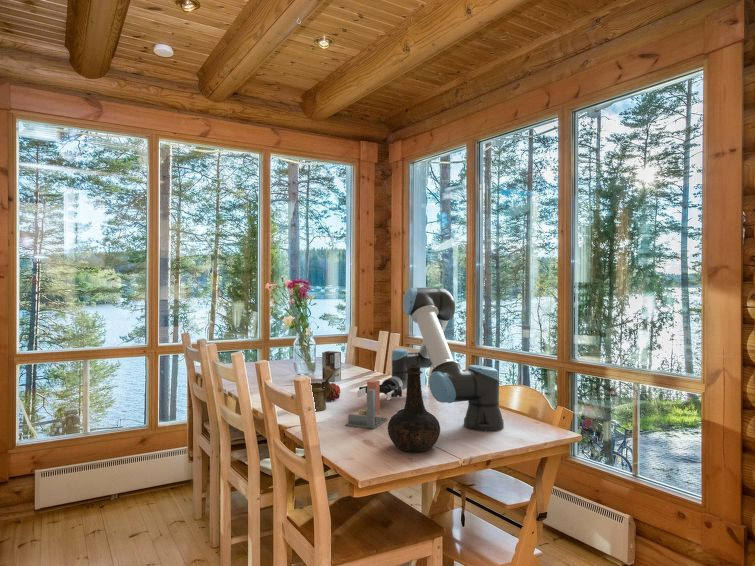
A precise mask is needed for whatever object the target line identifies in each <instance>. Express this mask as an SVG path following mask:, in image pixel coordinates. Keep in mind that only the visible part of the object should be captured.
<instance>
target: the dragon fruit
mask: <svg viewBox="0 0 755 566" xmlns="http://www.w3.org/2000/svg"><path fill="white" fill-rule="evenodd" d="M330 385H331V391H330V394H329V395H328V397H327V399H328V401H331V400H333V401H334V400H337V399H338V400H339V399H340V394H341V387H340V386H339V385H336V383H335V382H331V383H330ZM324 389H325V390H323V392H324V393H326V392H327V388H326V387H324ZM327 399H326V400H327Z"/></svg>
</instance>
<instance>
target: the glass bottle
mask: <svg viewBox="0 0 755 566" xmlns="http://www.w3.org/2000/svg"><path fill="white" fill-rule="evenodd" d="M405 372H406V373H407V388H406V395H405V404H404V408H402V409H399V410H398V411H397V412H396V413H395V414H393V415H392V416H391V417H390V419H389V421H388V423H387V433H388V436H389V439H390V441H391V442H392V443H393V445H395V447H396V448H398V449H400V450H401V451H404V452H409V453H421V452H425V451H427V450H429V449H431V448H432V447H434V445H436V443H437V442H438V440H439V437H440V435H441V426H440V422H439V420H438V419H437V418H436V416H435V415H434V414H432V413H430V412H428V410H427V409H426V407H425V403H424V399H423V393H422V392H423V391H422V383H421V382H422V381H421V374H423V371H421V368H420V366H418V365H408V366H407V370H406V371H405Z"/></svg>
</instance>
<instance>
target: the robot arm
mask: <svg viewBox="0 0 755 566" xmlns="http://www.w3.org/2000/svg"><path fill="white" fill-rule="evenodd" d="M402 301H403V302H402V309H403V313H404V314H405V315H406V316H410V317H411V320H412V321H413V322H414V323H416V324H417V325H418V328H419V332H420V334H421V338H422V342H421V345H420V348H419V350H418V352H417V351H416V352H408V350H407V349H406V348H395V349H393V350H391V376H390V377H389V378H387V379H385V380H383V381H382V383H380V394H384V395H386V401H389V400H391V399H393V398H397V397H399V398H402V396H403V391H404V390H405V389H407V373H406V372H405V371H406V370H407V366H408V365H418V366H420V369H429V368H432V370H431V372H430V375H429V378H428V384H429V391H430V393H431V395H432V397H433V398H434V399H435V400H436V401H437V402H439V403H441V404H442V403H446V404H451V403H458V402H459V403H461V402H468V405H467V410H466V413H465V417H464V418H463V426H464V427H465V428H466V429H469V430H472V431H478V432H498V431H500V430H503V429H504V428H505V427H504V426H505V424H504V423H505V422H504V419H503V416H502V413H501V408H500V380H501V379H500V373H499V371H498V370H497V369H496V368H494V367H490V366H486V365H478V364H469V365H468V367H467V369H462V367H461V365H460V362H458V361H456V360H455V359H454V358H453V355H452V352H451V350H450V346H449V344H448V342H447V339H446V337H445V334H444V332H445V330H446V328H447V326H448V323H449V321H451V320H452V319H453V317H454V315H455V312H456V303H455V299H454V296H453V295H452V294H451V292H450V291H449V290H447V289H446V288H443V287H439V286H438V287H417V286H416V287H410V288H408V289H407V290H406V291H405V292H404V295H403V300H402ZM366 395H367V385H365V386H364V385H363V386H359V388H358V390H357V398H361V397H363V396H366ZM497 430H498V431H497Z"/></svg>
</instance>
